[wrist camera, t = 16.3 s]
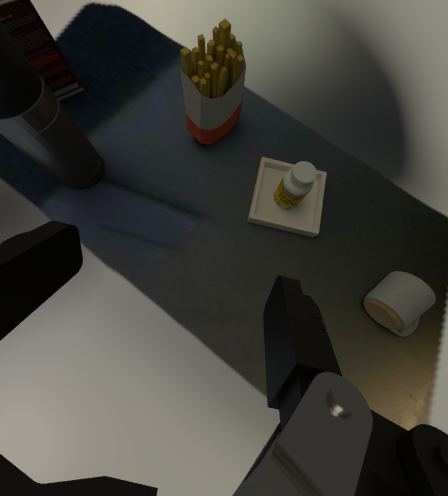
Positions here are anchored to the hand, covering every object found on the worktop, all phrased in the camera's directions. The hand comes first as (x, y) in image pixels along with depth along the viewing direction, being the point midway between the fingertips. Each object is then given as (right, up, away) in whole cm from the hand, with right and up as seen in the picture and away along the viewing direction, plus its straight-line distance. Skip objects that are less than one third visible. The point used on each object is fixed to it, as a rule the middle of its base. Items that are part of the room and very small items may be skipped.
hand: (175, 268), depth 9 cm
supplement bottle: (+15, +11, +37) cm, 41 cm away
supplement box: (-34, +35, +40) cm, 64 cm away
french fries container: (0, +26, +40) cm, 48 cm away
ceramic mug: (+33, -10, +34) cm, 48 cm away
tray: (+15, +11, +37) cm, 42 cm away
